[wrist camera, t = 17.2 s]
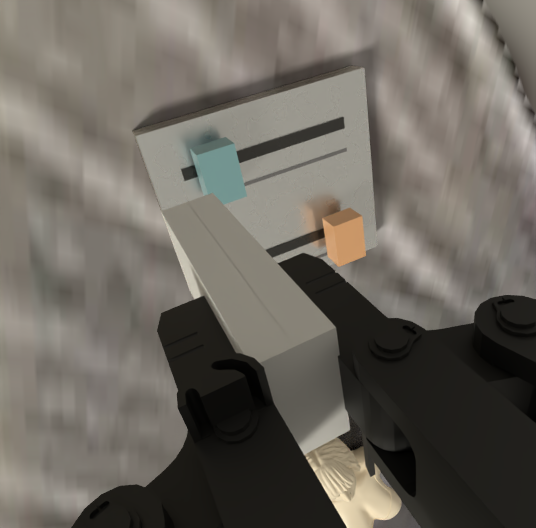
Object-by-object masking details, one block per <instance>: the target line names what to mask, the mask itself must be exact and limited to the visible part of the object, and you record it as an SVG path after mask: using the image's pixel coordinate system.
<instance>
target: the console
mask: <svg viewBox="0 0 536 528" xmlns="http://www.w3.org/2000/svg"><path fill="white" fill-rule="evenodd" d="M132 132H133V134H134V137H135V140H136V143H137V146H138V148H139V151H140V154H141V157H142V159H143V162H144V165H145V168H146V170H147V173H148V176H149V179H150V182H151V184H152V187H153V190H154V193H155V195H156V198H157V201H158V204H159V206H160V209H161V211H163V210H166V209H169V208H172V207H174V206H177V205H180V204H183V203H186V202H188V201H191V200H194V199H197V198H200V197H202V196H204V195H203V191H202V188H201V185H200V181H199V178H198V175H197V171H196V168H195V165H194V161H193V158H192V154H191V151H190V148H192V147H196V146H199V145H202V144H205V143H208V142H211V141H215V140H218V139H221V138H224V137H226V138H228V139H229V140H231V141H232V142H233V143H234V144H235V148H236V152H237V156H238V160H239V165H240V169H241V173H242V177H243V181H244V185H245V190H246V194H247V197H244V198H241V199H238V200H235V201H233V202H230V203H227V204H224V206H225V207H226V208H227V209H228V210H229V211H230V212H231V213H232V214H233V216H234V217H235V218H236V219H237V220H238V221H239V222H240V223H241V224H242V225H243V226H244V228H245V229H246V230H247V231H248V232H249V233H250V234H251V235H252V236H253V237H254V238H255V240H256V241H257V242H258V243H259V244H260V245H261V246H262V247H263V248H264V249H265V250H266V252H267V253H268V254H269V255H270V256H271V257H272V258H273V259H274V260H275V261H276V262H277V263H280V262H282V261H284V260H287V259H289V258H292V257H294V256H296V255H299V254H301V253H306V254H309V255H312V256H315V257H317V258H320V259H323V260H324V261H325V262H326V263H327V264H328V265H332V264H334V262H333V261H332V260H331V259H330V258H329V257H328V254H327V248H326V241H325V234H324V227H323V220H322V218H324V217H326V216H329V215H332V214H334V213H337V212H339V211H342V210H345V209H347V208H351V209H353V210H354V211H356V212H357V213H359V214H360V215H362V218H363V229H364V240H365V251H366V250H369V249H371V248H374V247H376V246H377V233H376V219H375V205H374V191H373V178H372V164H371V150H370V137H369V123H368V109H367V95H366V82H365V68H364V67H359V66H353V65H352V66H348V67H345V68H342V69H338V70H335V71H332V72H328V73H325V74H322V75H318V76H315V77H311V78H308V79H305V80H301V81H298V82H295V83H291V84H288V85H285V86H281V87H278V88H275V89H271V90H268V91H264V92H261V93H258V94H254V95H251V96H248V97H244V98H241V99H238V100H234V101H231V102H227V103H224V104H221V105H217V106H214V107H211V108H207V109H204V110H201V111H197V112H194V113H191V114H187V115H184V116H180V117H177V118H174V119H170V120H167V121H164V122H160V123H157V124H154V125H150V126H147V127H143V128H140V129H137V130H133V131H132ZM191 295H192V294H191ZM192 298H193V300H194V297H193V295H192Z"/></svg>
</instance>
